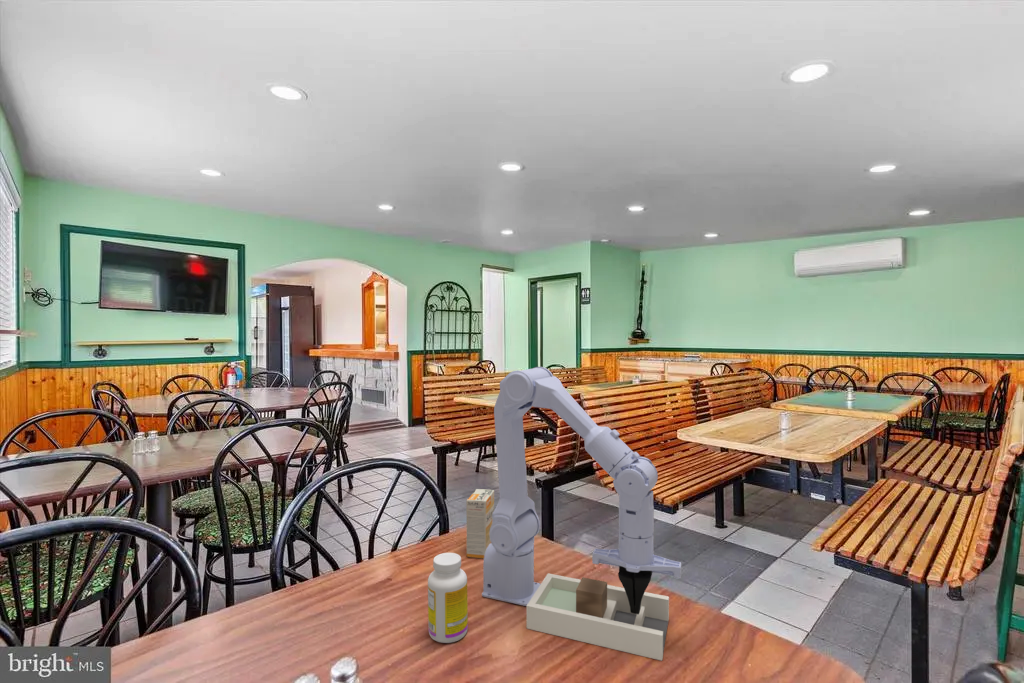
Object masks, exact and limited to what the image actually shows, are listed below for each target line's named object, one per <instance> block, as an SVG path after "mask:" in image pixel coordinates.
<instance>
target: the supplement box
mask: <svg viewBox="0 0 1024 683" xmlns="http://www.w3.org/2000/svg"><path fill="white" fill-rule="evenodd" d="M465 503H466V504H465V505H466V506H465V507H466V510H465V511H466V557H467V558H471V559H472V558H473V559H475V558H476V559H483V560H484V555H485V552H486V549H487V547H488V545H489V544H490V543H491V540H490V535H489V533H490V528H491V526H492V521H493V518H492V514H493V512H494V510H495V490H494V489H487V488H485V489H481V488H476V489H475V490H474V491H473V492H472V493H471V495H470V496H468V497H467V499H466V502H465Z"/></svg>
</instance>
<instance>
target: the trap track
mask: <svg viewBox="0 0 1024 683" xmlns="http://www.w3.org/2000/svg"><path fill="white" fill-rule="evenodd" d="M580 581H581V579H579V578H574V577H570V576H563V575H559V574H553V573H547V574H546V575H545V577H544V579H543V580H542V581H541V583H540V584H541V585H540V586H539V588H538V589H537V591H536V592H535V594H534V595H533V597H532V598H531V600H530V601H529V603H528V604H527V606H526V629H527V630H532V631H535V632H541V633H545V634H549V635H553V636H557V637H562V638H565V639H569V640H574V641H578V642H582V643H587V644H591V645H595V646H598V647H599V646H600V647H603V648H607V649H612V650H615V651H619V652H624V653H628V654H633V655H635V656H640V657H645V658H650V659H654V660H656V661H663V658H664V650H665V644H666V639H667V632H668V626H669V618H670V613H669V612H670V611H669V610H670V597H669V596H668V595H662V594H658V593H651V592H647V591H645V592H644V595H643V597H642V601H641V609H640V613H639V614H634V613H631V611H630V605H629V601H628V597H627V594H626V592H625V589H624V587H623V586H622V587H621V586H617V585H611V584H607V608H606V611H605V613H604V616H603V618H600V617H595V616H591V615H586V614H581V613H577V612H576V589H577V587H578V585H579V583H580Z"/></svg>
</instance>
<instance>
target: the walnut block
mask: <svg viewBox="0 0 1024 683" xmlns="http://www.w3.org/2000/svg"><path fill="white" fill-rule="evenodd" d="M580 580H581V581H580V583H579V585H578V587H577V589H576V612H577V613H581V614H586V615H591V616H595V617H600V618H603V616H604V613H605V611H606V608H607V585H608V581H604V580H598V579H593V578H589V577H583V576H582V577H581V579H580Z"/></svg>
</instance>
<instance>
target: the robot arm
mask: <svg viewBox="0 0 1024 683" xmlns="http://www.w3.org/2000/svg"><path fill="white" fill-rule="evenodd" d="M493 408H494V409H493V415H494V431H495V432H494V433H495V446H496V448H495V449H496V460H497V462H496V464H497V474H498V492H499V500H498V502H497V504H496V506H495V507H494V512H493V514H492V518H493V521H492V526H491V528H490V533H489V535H490V540H491V543H490V544H489V545H488V547H487V549H486V552H485V555H484V559H483V562H482V563H483V564H482V565H483V566H482V567H483V568H482V569H483V581H482V583H483V587H482V588H483V591H482V592H481V596H482V597H484V598H488V599H493V600H496V601H497V600H498V601H502V602H506V603H510V604H516V605H520V606H524V607H527V604H528V603H529V601H530V600H531V598H532V597H533V595H534V594H535V592H536V591H537V589H538V588H539V586H540V585H541V583H540V582H535V568H534V567H535V563H534V562H535V561H534V560H535V537H536V536H537V535H538V534H539V532H540V530H541V521H540V518H539V516H538V513H537V511H536V507H535V506H536V504H535V501H534V500H533V499H532V498H530V497H529V496H528V480H527V479H528V478H527V464H526V462H527V461H526V449H525V433H524V419H523V418H524V415H525V414H526V413H528V411H530V410H531V408H539V409H540V408H541V409H549V410H552V411H553V412H554V413H556V415H557V416H558V417H559V418H560V419H562V420H563V421H564V422H565V423H566V425H568V426H569V427H570V428H571V429H572V430H573V431H575V432H576V434H578V435H579V436H580V437H581V438H582V439H583V441H584V449H585V450H584V451H585V452H587V454H588V455H590V457H591V458H593V460H594V461H595V462H597V463H598V465H599V466H600V467H601V468H602V469H603V470H604V471H605V472H606V473H607V474H608V475H609V476H610V477H611V478H612V479H613V481H612V484H613V487H614V490H615V492H616V493H617V494H618V497H619V498H618V548H616V549H615V548H614V549H613V548H611V549H608V548H605V549H604V548H596V547H595V548H594V549H593V551H592V563H591V564H594V565H599V564H604V565H608V566H616V567H619V568H618V572H617V576H618V579H619V581H620V583H621V585H622V588H624V589H625V592H626V594H627V597H628V601H629V605H630V611H631V613H634V614H639V613H640V609H641V601H642V597H643V595H644V592H646V590H647V589H648V586H649V584H650V583H651V579H652V576H653V573H656V574H661V575H665V576H666V575H667V576H672V577H673V578H674V579H678V580H680V579H681V578H682V577H681V576H682V562H681V561H676V560H672V559H668V558H666V557H663V556H661V555H660V556H659V555H656V554H654V529H655V528H654V527H655V526H654V524H655V522H654V518H655V517H654V514H655V513H654V512H655V511H654V509H655V507H654V491H653V490H652V489H653V488H654V487H655V486H656V484H657V482H658V478H659V477H658V476H659V474H658V471H657V468H656V466H655V465H654V464H653V462H652V460H650V459H649V458H648V457H645V456H641V455H640V454H639V453H638V452H637V451H633V450H632V449H631V447H629V446H628V445H627V444H626V443H625V442H624V441H623V440H622V439H621V438H620V437H619V436H620V433H619V431H618V430H616V429H611V428H610V427H609V426H603V425H602V426H599V425H598V424H597V423H596V422H595V420H593V419H592V417H591V416H590V415H589V414H588V413H587V412H586V411H585V410H584V409H583V408H582V406H581V405H580V404H579V403H578V402H577V400H575V398H573V396H572V395H571V394H570V393H569V392H568V390H566V388H565V387H564V385H563V383H562V381H561V380H560V379H559V378H558V377H556V376H555V375H553V373H552V372H551V371H550V370H549V369H548V368H546V367H544V366H535V367H533V368H527V369H521V370H520V369H518V370H513V371H510V372H509V373H508V374H507V375H506V376H505V377H504V378H502V380H500V381H499V393H498V396H497V398H496V401H495V404H494V407H493Z"/></svg>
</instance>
